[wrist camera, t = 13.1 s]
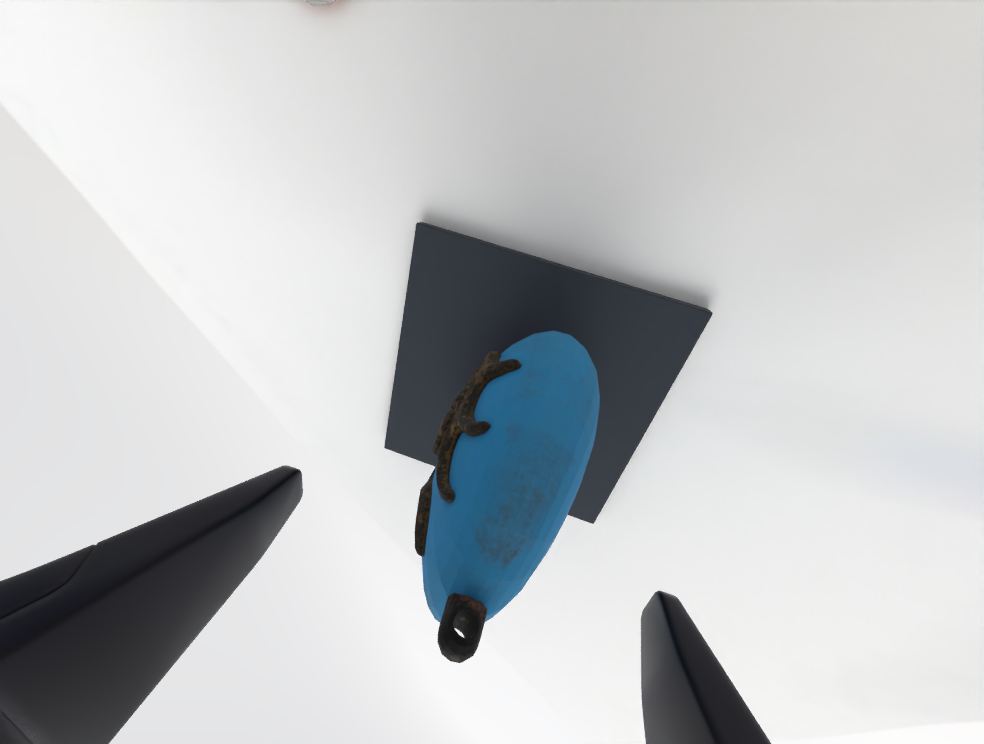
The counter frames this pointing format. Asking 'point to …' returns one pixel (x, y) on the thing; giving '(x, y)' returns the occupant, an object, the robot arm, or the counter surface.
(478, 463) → the ornament
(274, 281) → the counter surface
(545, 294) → the mat
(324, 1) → the key chain
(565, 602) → the counter surface
